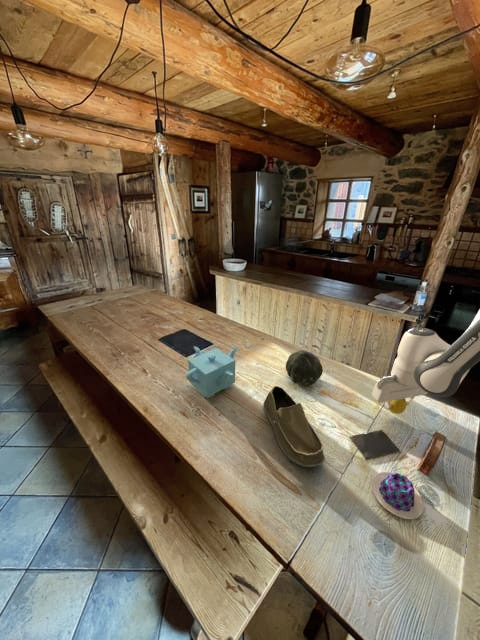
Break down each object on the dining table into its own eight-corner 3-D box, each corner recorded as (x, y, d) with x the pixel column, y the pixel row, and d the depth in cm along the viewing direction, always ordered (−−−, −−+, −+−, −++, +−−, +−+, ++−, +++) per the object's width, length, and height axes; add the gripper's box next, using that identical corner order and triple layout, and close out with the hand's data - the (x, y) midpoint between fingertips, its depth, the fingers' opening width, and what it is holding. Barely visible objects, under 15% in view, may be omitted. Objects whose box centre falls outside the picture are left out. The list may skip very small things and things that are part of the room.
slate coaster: (381, 430, 89) (381, 429, 88) (399, 451, 82) (400, 450, 81) (349, 437, 86) (350, 436, 86) (365, 459, 79) (366, 457, 79)
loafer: (300, 480, 73) (304, 454, 68) (253, 406, 98) (254, 384, 93) (332, 465, 77) (338, 440, 72) (279, 398, 102) (281, 376, 97)
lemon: (385, 416, 93) (391, 398, 89) (384, 405, 97) (390, 388, 94) (403, 420, 91) (410, 402, 87) (401, 409, 95) (407, 392, 92)
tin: (428, 444, 84) (436, 424, 81) (439, 450, 82) (449, 430, 79) (414, 475, 75) (423, 455, 71) (426, 483, 73) (437, 463, 69)
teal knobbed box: (185, 400, 100) (181, 368, 94) (195, 370, 117) (193, 341, 110) (234, 403, 99) (235, 371, 93) (238, 372, 116) (238, 343, 110)
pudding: (368, 468, 76) (372, 456, 74) (415, 480, 73) (421, 468, 71) (374, 511, 66) (379, 498, 64) (429, 528, 63) (436, 515, 61)
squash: (314, 355, 120) (298, 336, 112) (334, 375, 107) (318, 357, 99) (291, 375, 121) (273, 359, 113) (308, 398, 109) (289, 382, 100)
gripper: (386, 384, 82) (376, 417, 88) (440, 375, 86) (427, 407, 92) (372, 372, 87) (364, 404, 93) (424, 364, 92) (413, 395, 97)
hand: (396, 406), depth 93 cm, fingers closed on lemon, 5 cm apart
